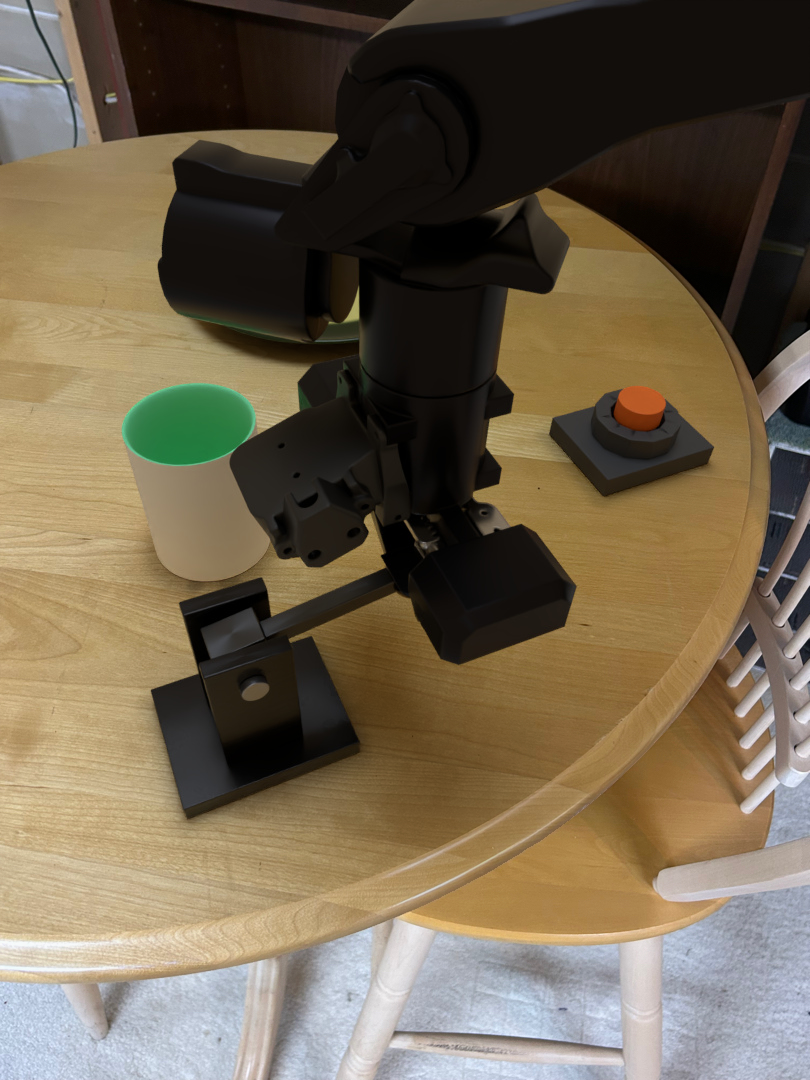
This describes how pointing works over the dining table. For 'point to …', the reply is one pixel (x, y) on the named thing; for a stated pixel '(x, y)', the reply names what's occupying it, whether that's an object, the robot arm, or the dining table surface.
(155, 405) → the mug
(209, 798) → the switch
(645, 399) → the button
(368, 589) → the lever
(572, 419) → the button box
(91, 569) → the dining table surface
